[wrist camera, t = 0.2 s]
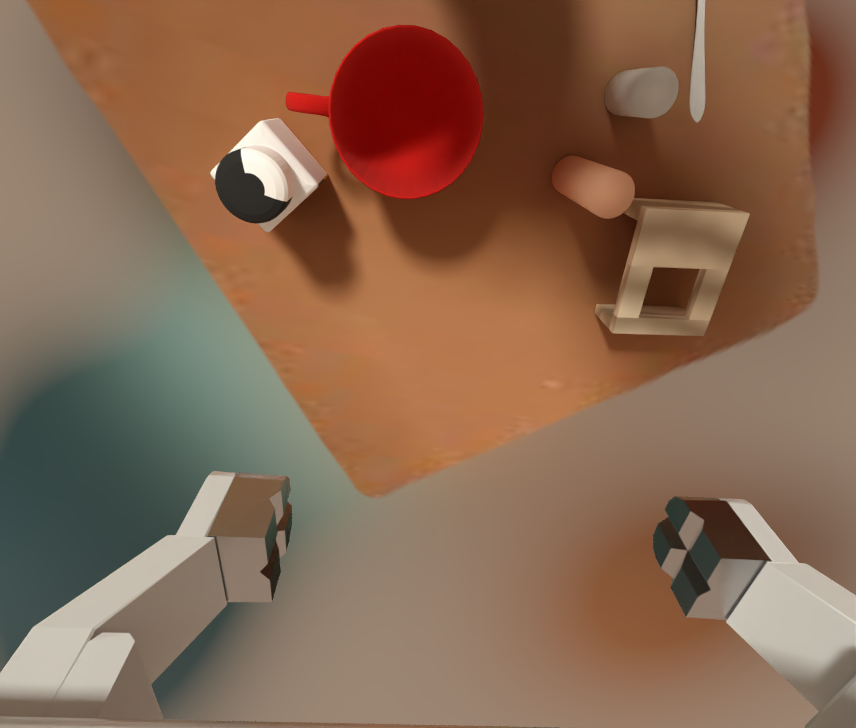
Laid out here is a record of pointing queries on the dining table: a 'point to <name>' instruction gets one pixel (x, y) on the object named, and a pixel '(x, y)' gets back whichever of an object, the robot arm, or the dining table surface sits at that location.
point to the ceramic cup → (402, 111)
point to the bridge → (675, 264)
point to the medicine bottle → (267, 175)
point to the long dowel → (594, 186)
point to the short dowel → (642, 92)
